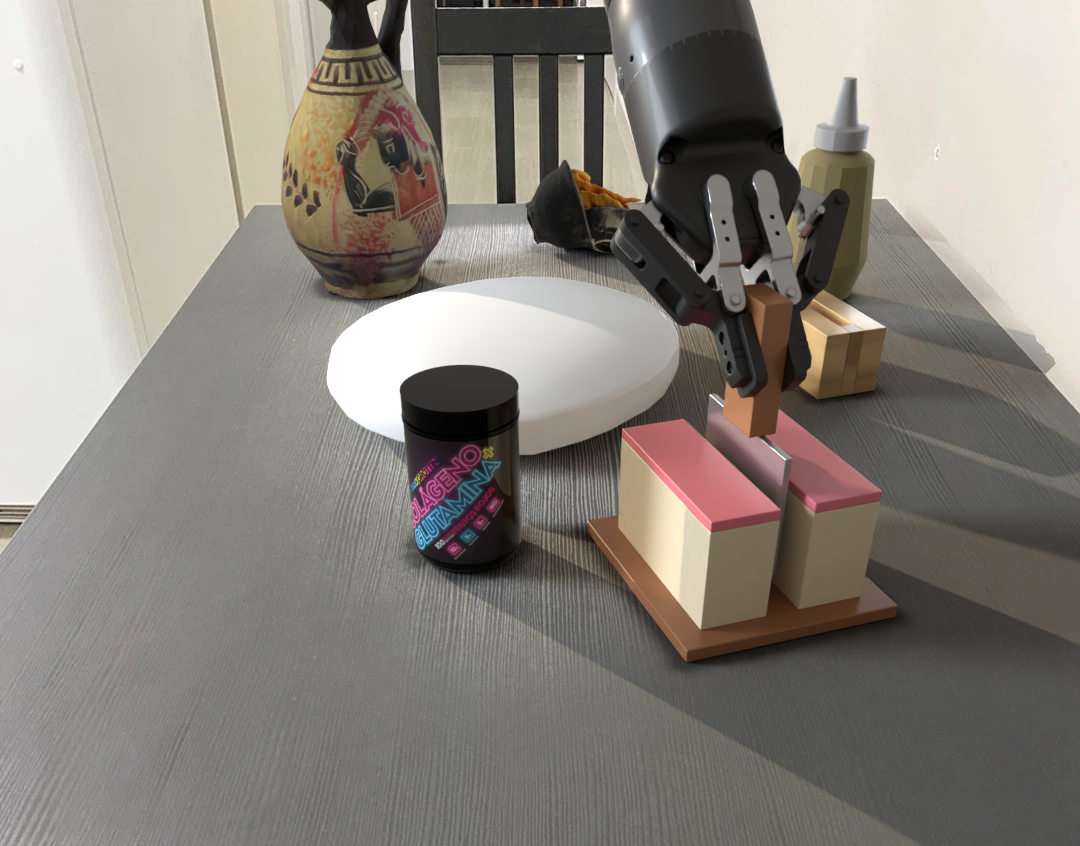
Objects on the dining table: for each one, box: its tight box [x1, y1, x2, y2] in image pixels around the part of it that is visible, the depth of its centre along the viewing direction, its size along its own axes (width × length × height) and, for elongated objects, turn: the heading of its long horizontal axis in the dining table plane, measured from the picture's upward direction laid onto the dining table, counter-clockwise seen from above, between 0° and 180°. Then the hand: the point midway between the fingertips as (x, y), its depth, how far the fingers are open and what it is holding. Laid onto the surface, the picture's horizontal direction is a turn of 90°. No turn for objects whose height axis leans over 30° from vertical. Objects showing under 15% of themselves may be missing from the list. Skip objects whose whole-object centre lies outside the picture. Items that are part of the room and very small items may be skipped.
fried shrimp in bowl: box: [525, 159, 642, 254], centre depth 113 cm, size 9×11×18 cm
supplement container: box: [400, 365, 522, 574], centre depth 64 cm, size 7×7×10 cm
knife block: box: [798, 290, 888, 400], centre depth 89 cm, size 13×5×5 cm, turn 19°
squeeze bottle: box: [787, 76, 876, 301], centre depth 98 cm, size 8×8×18 cm
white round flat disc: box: [326, 275, 681, 456], centre depth 84 cm, size 28×6×27 cm
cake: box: [586, 408, 899, 663], centre depth 63 cm, size 15×13×7 cm
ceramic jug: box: [280, 0, 449, 300], centre depth 98 cm, size 17×15×30 cm
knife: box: [704, 283, 793, 575], centre depth 59 cm, size 9×2×14 cm, turn 19°
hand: (774, 387), depth 56 cm, fingers closed on knife, 1 cm apart
